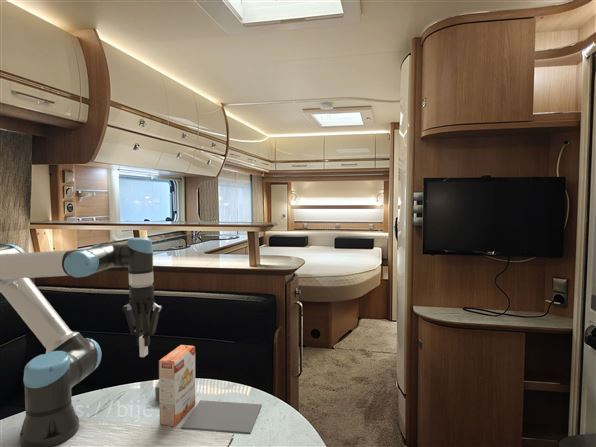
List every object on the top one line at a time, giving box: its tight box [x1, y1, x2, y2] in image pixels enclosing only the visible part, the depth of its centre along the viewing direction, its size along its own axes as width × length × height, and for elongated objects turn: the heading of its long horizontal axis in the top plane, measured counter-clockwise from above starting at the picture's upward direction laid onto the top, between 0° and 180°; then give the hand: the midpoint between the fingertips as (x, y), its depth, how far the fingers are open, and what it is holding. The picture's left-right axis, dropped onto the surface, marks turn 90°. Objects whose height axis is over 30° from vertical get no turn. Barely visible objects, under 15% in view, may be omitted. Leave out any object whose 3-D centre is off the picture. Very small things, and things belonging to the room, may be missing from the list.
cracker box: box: [158, 344, 196, 427], centre depth 127 cm, size 14×6×21 cm, turn 168°
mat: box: [180, 399, 263, 434], centre depth 126 cm, size 22×16×1 cm
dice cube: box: [154, 380, 159, 402], centre depth 138 cm, size 5×5×5 cm
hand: (143, 355), depth 127 cm, fingers closed
